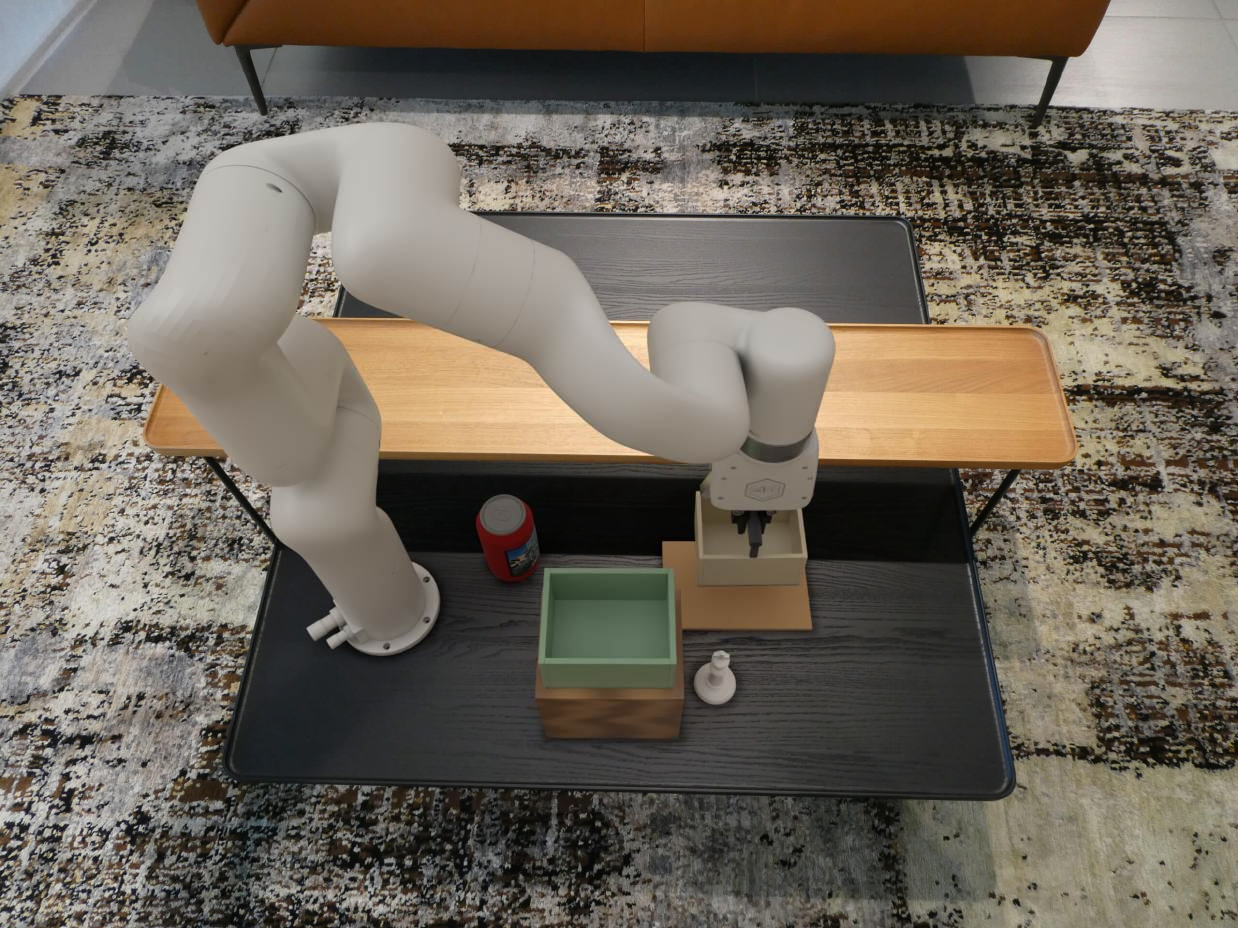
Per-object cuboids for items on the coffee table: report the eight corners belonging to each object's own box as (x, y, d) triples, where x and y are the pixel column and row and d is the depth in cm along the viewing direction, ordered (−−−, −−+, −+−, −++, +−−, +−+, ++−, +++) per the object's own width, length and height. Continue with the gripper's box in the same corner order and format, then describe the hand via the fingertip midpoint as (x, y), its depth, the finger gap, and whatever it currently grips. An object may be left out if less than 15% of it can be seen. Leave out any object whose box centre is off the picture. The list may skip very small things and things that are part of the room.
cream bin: (697, 586, 96) (700, 542, 88) (694, 521, 101) (696, 473, 92) (799, 585, 96) (812, 540, 87) (791, 520, 101) (803, 471, 92)
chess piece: (696, 660, 101) (702, 627, 92) (737, 667, 100) (747, 634, 92) (691, 700, 98) (696, 670, 90) (733, 707, 97) (742, 678, 89)
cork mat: (664, 630, 103) (664, 628, 102) (662, 543, 110) (662, 541, 109) (811, 630, 103) (812, 628, 102) (800, 543, 109) (801, 541, 109)
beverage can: (533, 588, 106) (523, 543, 96) (481, 579, 107) (466, 533, 97) (546, 542, 110) (537, 494, 100) (496, 533, 111) (483, 485, 101)
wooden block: (546, 737, 96) (534, 698, 84) (552, 638, 103) (541, 588, 91) (678, 738, 96) (684, 699, 84) (675, 638, 102) (680, 589, 91)
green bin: (544, 688, 85) (538, 663, 79) (550, 597, 90) (544, 567, 84) (673, 688, 85) (676, 664, 79) (671, 597, 90) (673, 567, 84)
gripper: (688, 457, 76) (679, 553, 91) (863, 457, 75) (824, 553, 91) (685, 392, 80) (677, 494, 95) (851, 391, 79) (816, 493, 95)
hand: (749, 522), depth 93 cm, fingers closed on cream bin, 1 cm apart
